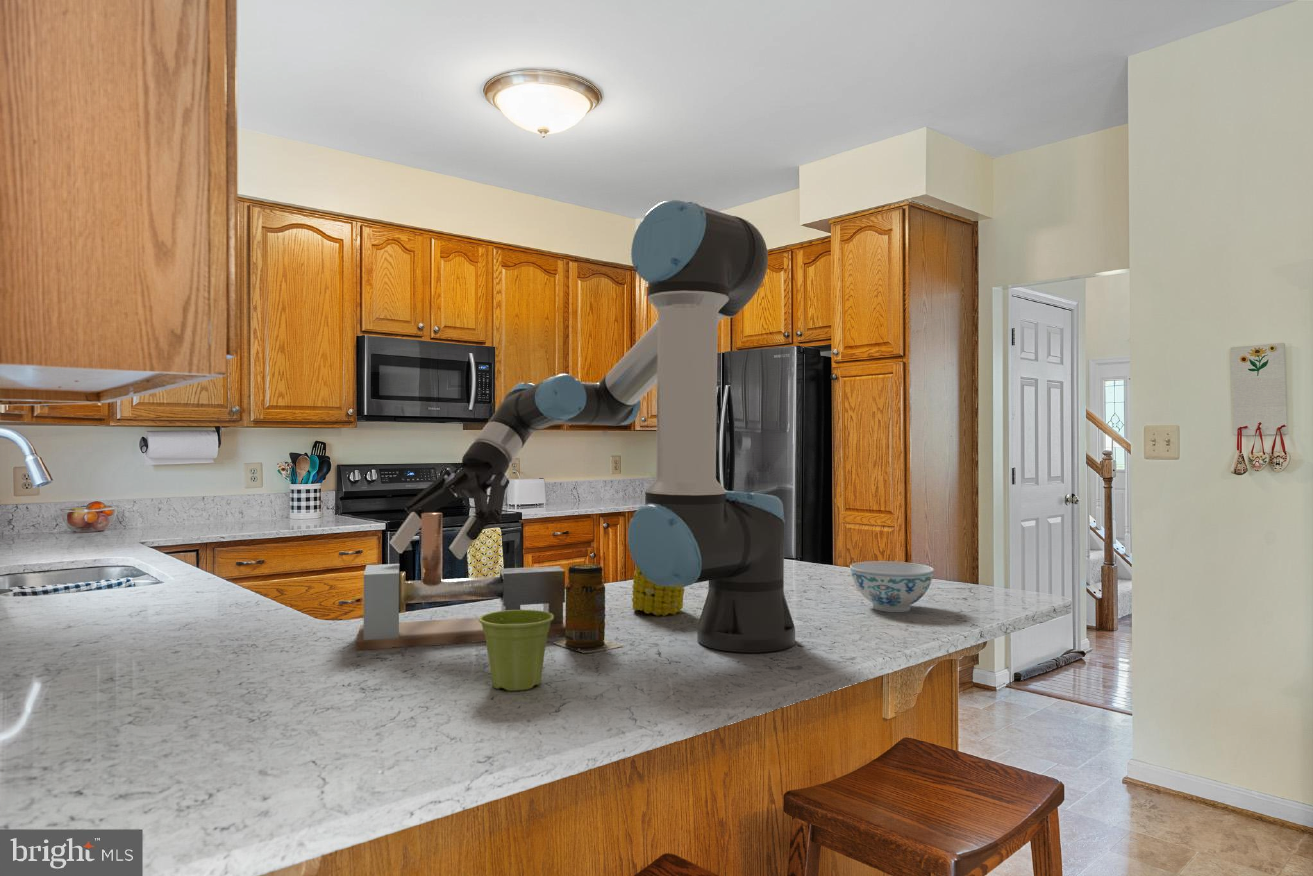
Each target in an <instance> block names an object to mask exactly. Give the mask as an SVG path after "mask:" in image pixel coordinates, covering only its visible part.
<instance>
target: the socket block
mask: <svg viewBox="0 0 1313 876" xmlns="http://www.w3.org/2000/svg"><path fill="white" fill-rule="evenodd" d="M399 572H400V563H388V564H366V566H365V569H364V573H363V625H364V639H363V640H374V639H389V638H399V622H400V613H399Z"/></svg>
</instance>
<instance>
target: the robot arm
mask: <svg viewBox="0 0 1313 876" xmlns="http://www.w3.org/2000/svg"><path fill="white" fill-rule="evenodd" d="M630 251H631V253H630V254H631V263H632V266H633V269H634V270H635V271H636V275H638V276H639V277H640V278H641V279H642V280H643V281H645V282H647V300H648V301H649V303H650V304H651V305H652V307H654V308H655V309H656V311H657V321H655V322H654V324H653V325H651V327H650V328H648V329H647V331H646V332H645V333H644V334H643V335H642V337H640V338H639V340H638V341H637V342H635V344H634V345H633V346H632V347H631V348H630V349H629V350H628V351H627V352H626V353H625V354H624V355H623V357H621V358H620V359H619V360H618V362H617V363H616V364H615V365H614V366H613V367H612V368H611V369H610V370H609V371H608V372H607V373H606V375H605V376H604V377H602V378H601V379H600V381H598V382H583V381H582V382H581V381H580V380H579V379H578V378H576V377H574V376H573V375H572V374H570V373H569V374H567V373H559V374H557V375H553V376H550V377H548V378H546V379H544V380H542V381H541V382H538V383H537V384H534V383H530V382H528V383H526V382H519V383H517V384H516V385H514V387H513V388H512V389H511V390H510V391H509V392H507V394H506V395H505V397H504V398H503V400H502V402H501V403H500V404H499V406H498V407H497V409H496V410H495V412H494V413H493V414H492V416H491V417H490V419H489V420H488V422H487V423H485V425H484V427H483V428H482V430H481V431H480V432H479V433H478V434H477V436H476V437H475V439H474V442H473V443H471V444H470V445H469V447H468V449H467V451H465V453H464V454H463V455H462V457H461V467H460V469H459V470H458V471H456V472H455V473H454V472H451V470H450V469H445V470H443V472H442V473H441V474H440V475H439V476H438V478H437V479H436V480H434V481H433V482H432V483H430V484H429V485H428V486H426V487H425V489H423V490H421V492H419V493H418V494H417V495H416V496H414V498H412V499H411V500H409V501H408V502H406V504H405V505H404V506H403V509H404V510H405V511H406V512H407V513H408V515H407V517H406V518H405V519H404V520H403V522H402V523H401V524H400V526H399V528H398V530H397V531H396V533H395V534H394V535H393V537H392V538H391V540H390V541H389V544H390V545H391V547H392V548H394V549H395V551H396V552H398V553H399V554H403V552H404V551H406V550H405V549H406V548H407V547H408V546H409V544H410V543H411V542H412V540H413V538H414V537H415V536H416V534H417V533H418V531H419V530H421V528H422V513H436V512H437V510H440V509H441V508H442V507H444V506H445V505H447V504H449V503H450V502H456V501H458V500H460V499H466V498H469V499H471V500H472V499H473V502H474V510H475V511H473V513H474V515H469V517H468V519H467V521H465V523H464V525H463V526H462V527H461V529H460V531H458V534H457V536H456V537H455V538H454V539H453V541H452V543H451V544H450V546H449V547H448V549H449V550H450V551H451V552H452V554H453V555H454V556H455V557H456V559H458V560H462V559H463V558H464V557H465V554H466V553H467V552H468V551H469V549H470V548H471V546H472V544H473V543H474V541H476V540H477V539H478V538H479V536H480V535H481V534H482V532H483V530H484V528H485V527H487V526H489V525H490V524H491V523H494V524H499V523H500V521H501V520H502V514H503V507H504V500H505V494H506V490H507V488H508V486H509V485H510V479H509V478H508V477H507V476H506V473H507V471H508V470H509V468H510V466H511V465H512V463H513V462H514V460H515V459H516V458H517V456H518V454H519V453H520V451H521V450H522V448H524V446H525V444H526V443H527V441H528V439H530V437H531V436H532V435H533V433H535V432H537V431H541V430H543V429H545V428H549V427H551V426H553V425H597V426H599V425H600V426H610V427H611V426H613V427H616V426H617V427H618V426H620V425H621V426H622V425H623V426H624V425H629V424H632V423H633V422H634V421H635V420H636V419H637V418H638V414H639V411H640V410H641V403H642V402H641V399H643V398H644V396H645V395H647V393H649V392H650V390H652V388H654V387H655V386H656V385H657V387H656V447H655V448H656V450H655V451H656V453H655V455H656V458H655V459H656V460H655V463H656V465H655V468H656V470H655V478H654V480H653V481H652V482H651V483H650V484H649V485H648V486H647V487H646V488H645V490H644V491H645V493H644V495H645V499H644V505H643V506H641V507H640V508H638V509H637V510H635V512H634V513H633V517H632V518H631V519H630V520H629V524H628V528H627V543H628V548H629V549H628V550H629V554H630V555H631V558H632V560H633V563H634V564H635V565H634V566H637V567H638V568H639V569H640V571H641V573H642V574H643V575H644V576H645V577H646V578H647V579H648V580H649V581H651V582H653V583H655V584H657V585H660V586H664V587H671V586H681V587H684V586H685V587H688V586H692V585H695V584H700V583H704V582H708V591H707V594H706V598H705V600H704V604H703V607H702V610H701V614H700V616H699V620H698V623H697V627H696V628H697V629H696V630H697V632H696V633H697V635H696V639H697V642H698V643H699V644H700V645H702V646H705V647H707V648H710V649H713V650H719V651H724V652H733V653H734V652H735V653H747V654H748V653H755V654H756V653H770V652H777V651H782V650H786V649H789V648H791V647H793V646H794V645H795V644H796V626H795V623H794V620H793V617H792V614H791V610H790V608H789V604H788V601H787V597H786V595H785V591H784V590H785V589H784V588H785V587H784V586H785V583H784V580H785V567H784V566H785V564H784V563H785V523H786V520H785V517H784V516H785V515H784V514H785V513H784V504H783V502H782V500H781V499H780V498H779V497H778V496H777V495H773V494H772V495H771V494H766V493H765V494H764V493H757V492H745V491H734V490H733V491H732V490H726V488H724V486H722V485H721V483H720V482H718V480H717V478H716V477H717V473H716V472H717V414H718V409H717V407H718V405H717V403H718V402H717V401H718V398H717V397H718V336H719V335H718V334H719V333H718V332H719V330H718V328H719V327H718V326H719V323H720V322H722V320H723V319H724V318H729V319H730V318H734V317H735V316H736V315H737V314H738V313H739V312H740V311H742V310H743V309H744V308H745V307H746V305H748V303H749V302H751V300H752V299H753V298H754V296H755V295H756V294H757V292H758V291H759V289H760V287H761V286H762V284H763V282H764V279H765V278H766V275H767V271H768V266H769V252H768V247H767V243H766V240H765V239H764V237H763V234H762V233H761V231H760V230H759V229H758V228H757V227H756V226H755V225H754V224H753V223H751V222H750V221H748V220H746V219H745V218H742V217H739V216H736V215H731V214H728V213H724V212H721V211H718V210H716V209H715V210H714V209H712V208H709V207H706V206H703V205H700V204H699V203H697V202H693V201H683V200H678V199H670V200H664V201H661V202H660V203H658V204H655V206H654V207H652V208H651V209H649V211H647V213H646V214H645V215H644V218H643V219H642V220H641V221H639V224H638V226H637V228H636V229H635V233H634V234H633V239H632V242H631V250H630ZM452 489H453V490H452ZM488 489H490V490H489V496H488ZM685 587H684V588H685Z"/></svg>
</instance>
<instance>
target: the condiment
mask: <svg viewBox="0 0 1313 876" xmlns="http://www.w3.org/2000/svg"><path fill="white" fill-rule="evenodd" d="M567 570H568V572H567V573H568V575H567V580H568V582H567V584H565V618H564V619H565V639H564V640H558V641H553V642H552V643H553V644H556V645H558V646H560V647H563V648H566V649H571V650H573V651H576V652H581V653H583V654H584V653H585V654H586V653H587V654H589V653H595V652H602V651H608V650H611V649H617V648H620V647H623V645H622V644H618V643H617V642H612V641H609V640H605V636H606V635H605V634H606V632H605V631H606V586H605V584H604V581H603V579H604V577H603V570H604V569H603V567H602V566H601V565H600V564H594V563H580V564H572V565H570V566H569V567H568V569H567Z"/></svg>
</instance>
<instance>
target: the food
mask: <svg viewBox="0 0 1313 876" xmlns="http://www.w3.org/2000/svg"><path fill="white" fill-rule="evenodd" d="M634 568H635V570H634V572H633V580H632V581H633V584H632V591H631V592H632V595H633V596H632V598H631V602H632V609H633V611H643V612H644V613H645V614H651V613H652V614H653V615H655V616H656V617H657V616H663V617H665V616H667V615H669V614H670V615H674V616H675V615H677V612H678V613H680V612H681V611H682V609H683V607H684V606H683V605H684V604H683V603H684V593H685V587H686V586H684V587H681V586H671V587H664V586H660V585H657V584H655V583H653V582H651V581H649V580H648V579H647V578H646V577H645V576H644V575H643V574H642V573H641V571H640V569H639V568H638V567H637V566H636V565H634Z"/></svg>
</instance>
